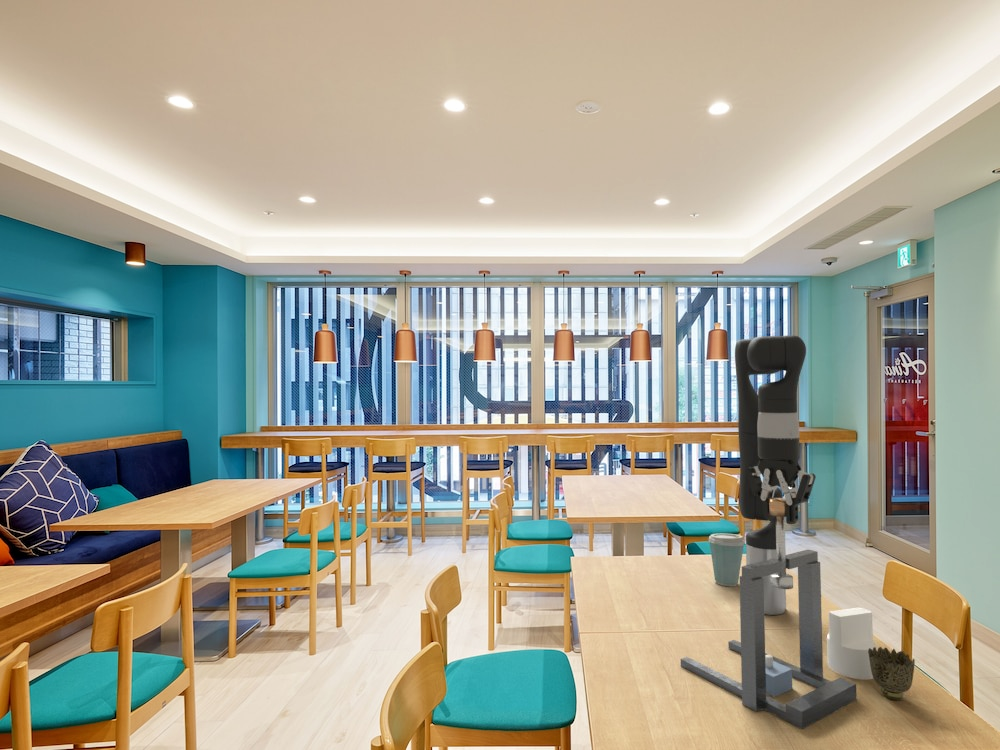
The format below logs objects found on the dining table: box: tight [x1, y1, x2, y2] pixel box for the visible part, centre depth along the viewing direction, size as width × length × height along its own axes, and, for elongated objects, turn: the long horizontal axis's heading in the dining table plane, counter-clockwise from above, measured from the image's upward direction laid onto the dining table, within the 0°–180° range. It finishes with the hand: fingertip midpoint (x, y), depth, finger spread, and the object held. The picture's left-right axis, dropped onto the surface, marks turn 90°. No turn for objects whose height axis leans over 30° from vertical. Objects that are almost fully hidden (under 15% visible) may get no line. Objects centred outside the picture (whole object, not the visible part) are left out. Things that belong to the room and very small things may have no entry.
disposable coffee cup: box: [708, 533, 746, 587], centre depth 175 cm, size 11×11×15 cm
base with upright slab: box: [826, 606, 877, 681], centre depth 120 cm, size 9×9×12 cm
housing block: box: [765, 654, 793, 698], centre depth 113 cm, size 6×6×6 cm
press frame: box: [680, 549, 858, 730], centre depth 115 cm, size 22×27×26 cm
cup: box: [868, 646, 915, 701], centre depth 109 cm, size 8×7×8 cm
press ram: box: [769, 497, 794, 590], centre depth 112 cm, size 4×4×17 cm
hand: (780, 521), depth 112 cm, fingers closed on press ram, 4 cm apart
